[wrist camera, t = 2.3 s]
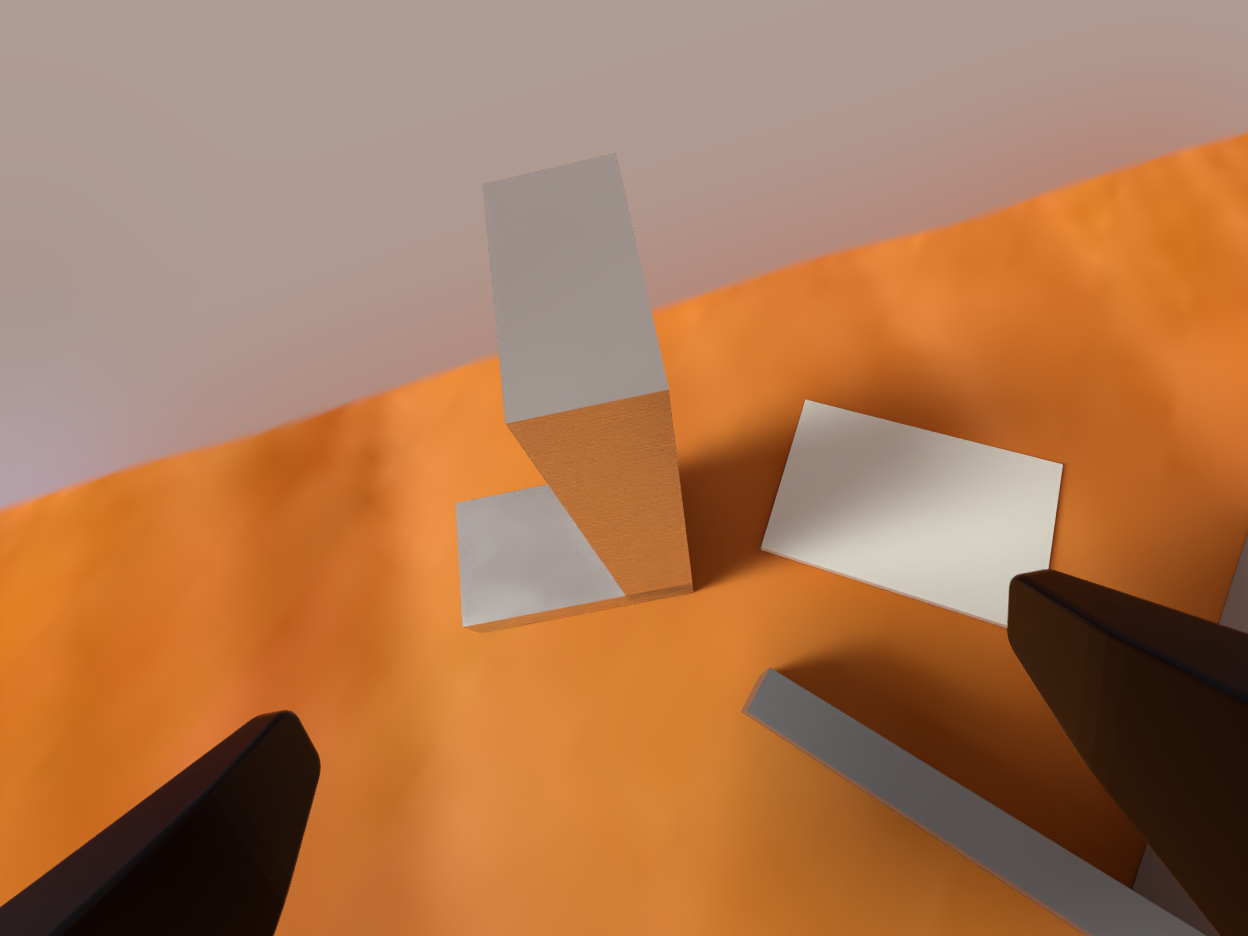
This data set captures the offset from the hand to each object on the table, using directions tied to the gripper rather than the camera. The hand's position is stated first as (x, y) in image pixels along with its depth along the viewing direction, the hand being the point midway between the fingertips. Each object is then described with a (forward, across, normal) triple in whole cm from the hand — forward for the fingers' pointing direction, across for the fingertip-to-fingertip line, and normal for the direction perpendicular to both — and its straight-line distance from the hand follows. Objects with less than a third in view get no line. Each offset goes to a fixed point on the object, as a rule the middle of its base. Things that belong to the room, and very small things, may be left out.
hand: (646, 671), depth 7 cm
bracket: (+12, +3, +5) cm, 13 cm away
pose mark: (+11, -8, +5) cm, 15 cm away
